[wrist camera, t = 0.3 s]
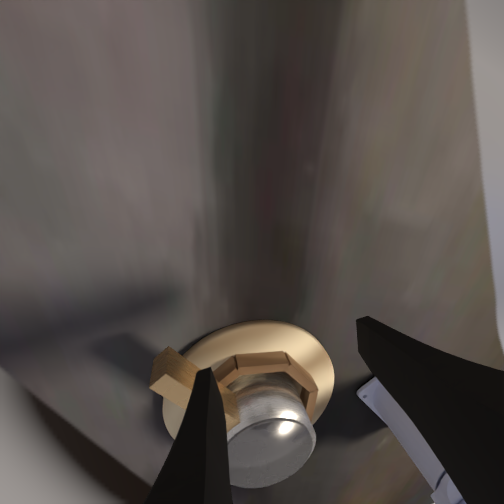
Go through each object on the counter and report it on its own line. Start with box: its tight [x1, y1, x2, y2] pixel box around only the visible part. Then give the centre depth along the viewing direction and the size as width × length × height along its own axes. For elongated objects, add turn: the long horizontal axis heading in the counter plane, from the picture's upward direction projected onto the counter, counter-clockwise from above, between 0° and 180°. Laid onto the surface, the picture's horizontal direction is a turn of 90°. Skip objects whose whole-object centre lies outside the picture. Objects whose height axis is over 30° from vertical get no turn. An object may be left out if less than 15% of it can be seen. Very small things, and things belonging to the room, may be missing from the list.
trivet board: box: [163, 320, 334, 440], centre depth 25 cm, size 16×16×2 cm
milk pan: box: [149, 346, 316, 488], centre depth 21 cm, size 15×8×5 cm, turn 39°
